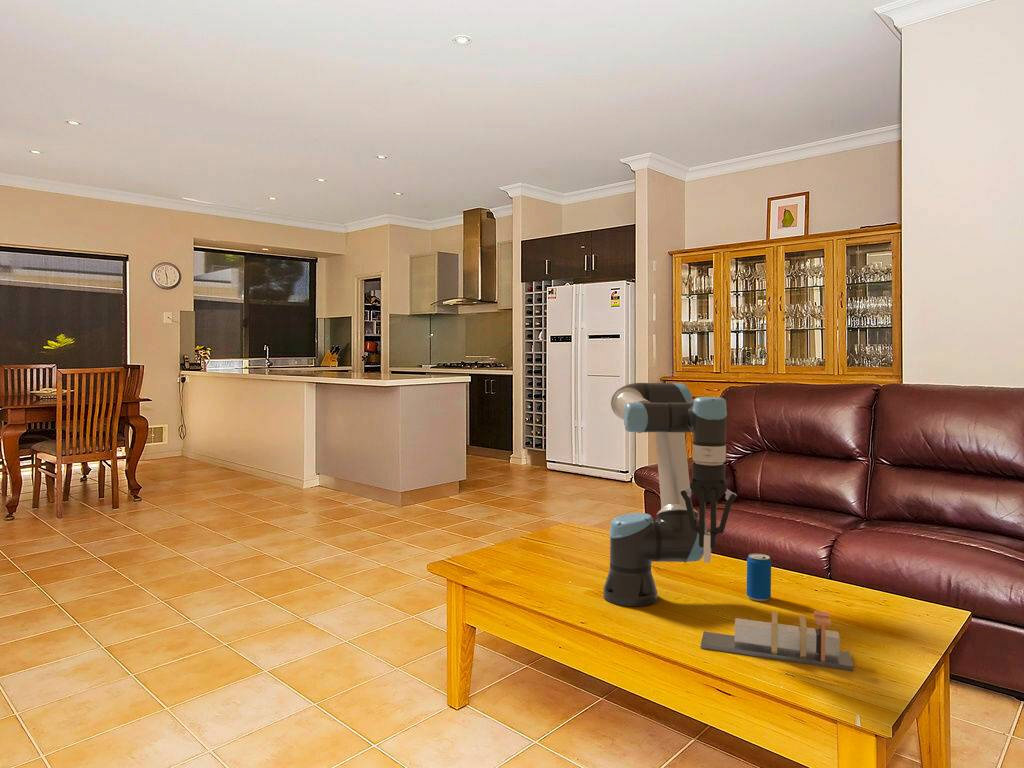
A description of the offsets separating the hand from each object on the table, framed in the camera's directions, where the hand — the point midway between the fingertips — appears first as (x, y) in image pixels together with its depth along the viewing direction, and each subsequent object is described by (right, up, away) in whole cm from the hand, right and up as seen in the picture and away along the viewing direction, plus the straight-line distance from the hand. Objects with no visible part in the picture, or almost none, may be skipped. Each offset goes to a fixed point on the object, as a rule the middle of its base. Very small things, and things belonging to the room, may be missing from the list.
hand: (707, 560), depth 161 cm
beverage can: (+23, -19, +31) cm, 43 cm away
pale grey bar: (+16, -18, -6) cm, 25 cm away
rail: (+14, -20, -5) cm, 25 cm away
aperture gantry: (+23, -20, -9) cm, 32 cm away
